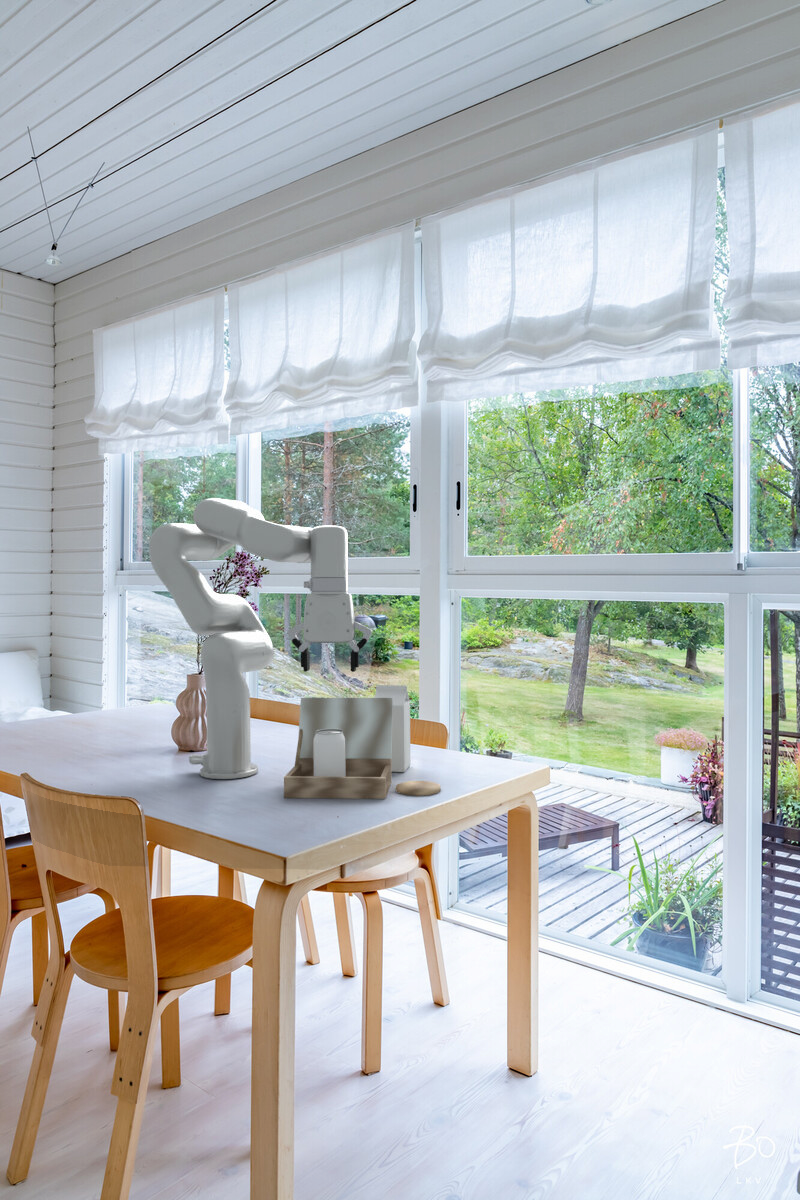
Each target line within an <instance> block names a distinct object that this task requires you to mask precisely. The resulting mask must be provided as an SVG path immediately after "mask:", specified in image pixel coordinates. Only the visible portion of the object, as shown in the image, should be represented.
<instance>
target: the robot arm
mask: <svg viewBox="0 0 800 1200" xmlns="http://www.w3.org/2000/svg"><path fill="white" fill-rule="evenodd" d="M192 513H193V514H192V518H193V523H194V524H193V523H183V522H179V523H178V522H170V523H165V524H161V525H159V526H158V527H157V528H156V529H154V531H152V533H151V536H150V539H149V543H148V544H149V545H148V552H149V560H150V563H151V566H152V568H153V570H154V573H155V574H156V576H157V577H158V578H159V580H160V581H161V582H162V584H163V585H164V586H165V588H166V589H167V591H168V592H169V593H170V595H171V597H172V599H173V600H174V603H175V605H176V606H177V608H178V609H179V611H180V612H181V615H182V616H183V618H184V620H185V622H186V623H187V625H188V626H189V629H191V631H193V633H194V634H196V635H198V636H205V637H206V636H208V637H206V639H205V640H204V642H203V643H202V645H201V649H200V660H201V665H202V669H203V676H204V683H205V697H206V699H205V702H206V706H205V707H206V753H203V754H190V755H189V758H188V761H189V764H191V765H192V766H193V765H195V766H196V765H201V766H202V767H201V768H200V770H199V774H200V776H201V777H203V778H205V779H212V780H233V779H235V780H236V779H240V778H247V777H250V776H253V775H255V774H257V773H258V771H259V770H258V769H259V767H258V765H257V764H254V763H253V762H252V761H251V760H252V759H251V757H252V756H251V755H252V754H251V753H252V752H251V748H252V746H251V698H250V695H251V694H250V689H249V686H248V683H247V681H246V679H245V677H244V674H243V673H249V672H257V671H260V670H263V669H265V668H268V666H269V665H270V664H271V663H272V661H273V657H274V645H273V641H272V639H271V637H270V635H269V634H268V631H267V630H266V629H265V627H264V625H263V623H262V622H261V621H260V619H259V616H258V615H257V614H256V612H255V611H254V609H253V607H252V606H251V604H249V601H247V600H246V599H245V598H243V597H242V596H240V595H238V594H234V593H219V592H215V590H213V589H212V587H211V586H210V584H209V583H208V581H207V579H206V577H205V576H204V574H202V572H201V571H200V570H198V569H197V568H196V567H195V566H194V565H192V564H191V563H190V562H189V561H203V562H205V561H211V560H212V561H213V560H216V559H217V558H219V557H221V556H223V554H225V553H226V552H228V551H229V550H231V549H232V548H233V547H234V546H236V545H237V546H240V547H241V548H242V549H243V550H244V551H245V552H247V553H249V554H252V555H254V556H258V557H261V558H263V559H265V560H269V561H273V562H277V563H297V564H310V578H309V580H306V581H303V588H304V589H309V591H310V593H307V594H306V598H305V602H304V603H305V604H304V612H303V621H302V622H300V623H299V624H297V625H295V626H293V627H291V628H289V629H288V630H287V635H288V637H289V639H290V640H291V642H292V643H291V644H292V645H294V646H295V648H296V649H297V650H298V651H299V652H300V667H301V668H303V672H305V673H306V672H308V671H310V667H311V665H310V661H311V659H310V658H311V656H310V651H309V647H310V646H311V645H312V644H347V645H348V646H349V647H350V648H351V652H350V672H352V673H353V672H356V671H357V668H359V667H360V651H361V650H362V648H364V646H365V645H367V643H368V642H369V640H370V637H371V636H372V634H373V630H372V629H371V628H370V627H367V626H365V625H363V624H362V623H359V622H357V621H356V620H355V611H354V610H355V609H354V608H355V607H354V601H353V596H352V593H349V586H348V585H349V558H348V557H349V550H348V549H349V548H348V547H349V545H348V544H349V543H348V540H349V538H348V536H349V535H348V531H347V529H346V527H344V526H339V525H320V526H319V525H318V526H314V527H308V526H307V527H306V526H299V525H298V526H296V525H287V524H286V525H285V524H280V523H279V524H278V523H274V522H271V521H267V520H265V518H264V517H265V516H263V514H262V513H261V512H260V511H259V510H257V509H253V508H251V507H250V506H249V505H248V504H246V502H243V501H239V500H234V499H233V500H232V499H227V498H220V497H219V498H216V497H212V498H205V499H203V500H201V501H200V502H198V504H197V505H196V506H195V507H194V509H193V512H192ZM302 630H303V631H302ZM356 630H358V631H359V632H361V633H362V634H363V636H362V638H361V639H360V640H359V641H358V642H357V640H355V637H356ZM300 631H302V632H303V633H302V634H303V639H304V641H303V642H302V641H301V639H299V638H298V636H297V633H298V632H300Z"/></svg>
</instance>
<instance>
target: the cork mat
mask: <svg viewBox="0 0 800 1200" xmlns="http://www.w3.org/2000/svg"><path fill="white" fill-rule="evenodd" d="M395 791H396V792H397V794H400V793H401V794H400V795H404V794H405V796H410V795H414V796H413V797H421V796H420V795H426V796H430V795H431V796H432V795H436V794H438V793H439V792H441V785H440V783H438V782H435V781H430V780H428V781H427V780H410V781H403V782H400V783H397V784H396V786H395Z"/></svg>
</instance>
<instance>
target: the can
mask: <svg viewBox="0 0 800 1200" xmlns="http://www.w3.org/2000/svg"><path fill="white" fill-rule="evenodd" d="M313 750H314V776H318V777H346V762H345V737H344V735H343V730H340V729H321V730H317V731H316V735H315V737H314V742H313Z"/></svg>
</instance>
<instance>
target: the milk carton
mask: <svg viewBox="0 0 800 1200" xmlns="http://www.w3.org/2000/svg"><path fill="white" fill-rule="evenodd" d="M373 698H393V706H392V752H391V773H393V772H395V773H405V772H407V770H408V768H409V767H410V766H411V700H410V696H409V692H408V685H406V684H405V685H403V684H401V685H400V684H398V685H397V684H396V685H395V684H376V686H375V693H374V697H373Z"/></svg>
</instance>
